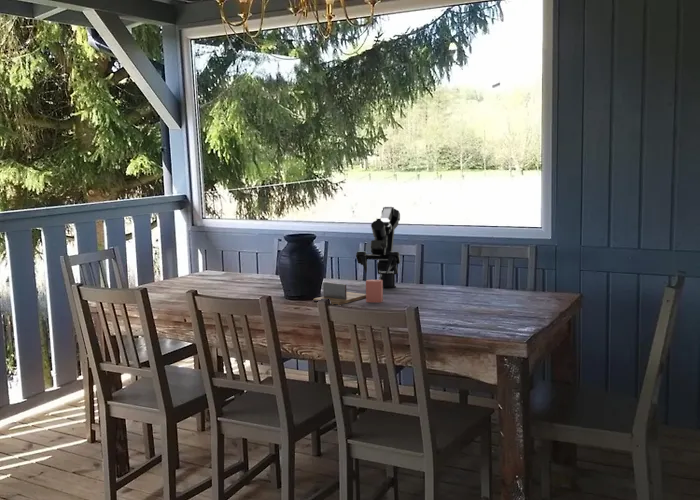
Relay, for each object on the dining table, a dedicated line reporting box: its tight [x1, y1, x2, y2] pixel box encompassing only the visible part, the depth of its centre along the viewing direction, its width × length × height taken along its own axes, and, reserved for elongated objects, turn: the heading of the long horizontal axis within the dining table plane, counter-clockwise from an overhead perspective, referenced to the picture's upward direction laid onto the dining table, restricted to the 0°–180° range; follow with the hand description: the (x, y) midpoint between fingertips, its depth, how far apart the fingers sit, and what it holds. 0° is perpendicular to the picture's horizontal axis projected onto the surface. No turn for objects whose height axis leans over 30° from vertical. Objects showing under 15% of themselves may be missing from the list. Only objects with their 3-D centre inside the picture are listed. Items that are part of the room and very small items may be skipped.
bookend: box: [322, 281, 347, 300], centre depth 300 cm, size 1×12×6 cm, turn 52°
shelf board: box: [312, 291, 366, 306], centre depth 303 cm, size 20×14×1 cm
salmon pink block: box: [365, 279, 384, 304], centre depth 297 cm, size 4×6×9 cm, turn 78°
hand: (376, 273), depth 300 cm, fingers open, 9 cm apart
